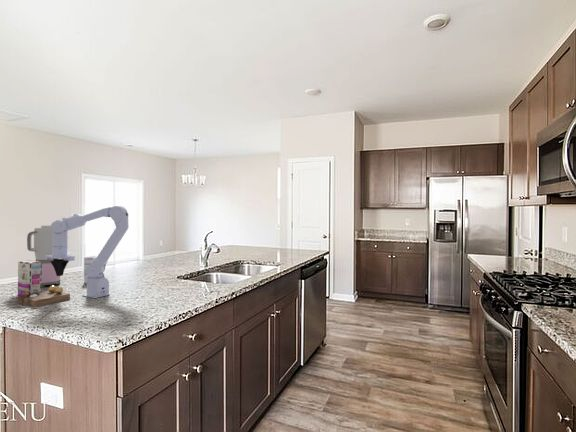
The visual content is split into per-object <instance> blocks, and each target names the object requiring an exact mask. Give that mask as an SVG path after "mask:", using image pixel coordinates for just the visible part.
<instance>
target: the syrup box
mask: <svg viewBox="0 0 576 432" xmlns="http://www.w3.org/2000/svg"><path fill="white" fill-rule="evenodd" d="M97 256H98V255H90V256H85V257H83V283H84V284H87V276H88V275H87V274H86V268H87V266H88V265H90V264H92V262H93V261H94V260H95V259H96V257H97Z"/></svg>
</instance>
